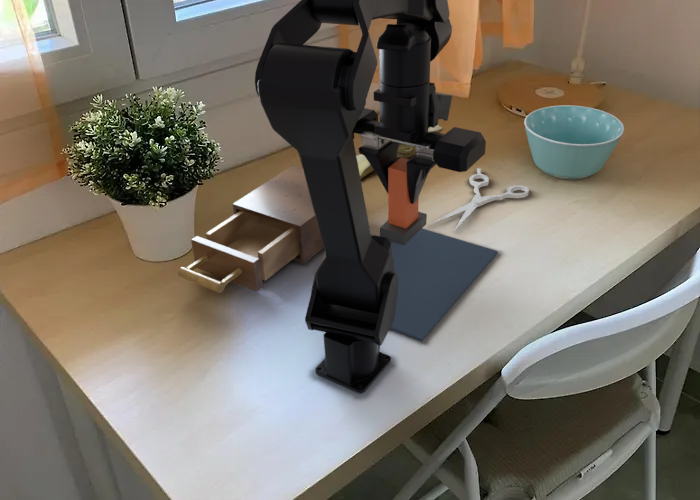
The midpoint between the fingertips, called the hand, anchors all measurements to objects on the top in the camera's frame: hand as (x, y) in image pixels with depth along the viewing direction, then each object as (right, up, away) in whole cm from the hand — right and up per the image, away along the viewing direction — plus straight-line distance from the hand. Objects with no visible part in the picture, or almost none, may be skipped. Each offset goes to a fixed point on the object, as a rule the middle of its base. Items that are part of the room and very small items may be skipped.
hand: (403, 199), depth 88 cm
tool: (0, +9, +36) cm, 37 cm away
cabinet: (-14, -3, +17) cm, 23 cm away
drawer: (-21, -8, +9) cm, 24 cm away
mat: (+2, -10, +6) cm, 12 cm away
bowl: (+30, +7, +31) cm, 44 cm away
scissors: (+13, +1, +22) cm, 25 cm away
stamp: (0, -4, +3) cm, 5 cm away
